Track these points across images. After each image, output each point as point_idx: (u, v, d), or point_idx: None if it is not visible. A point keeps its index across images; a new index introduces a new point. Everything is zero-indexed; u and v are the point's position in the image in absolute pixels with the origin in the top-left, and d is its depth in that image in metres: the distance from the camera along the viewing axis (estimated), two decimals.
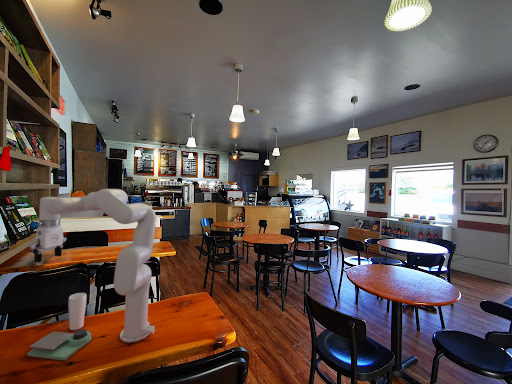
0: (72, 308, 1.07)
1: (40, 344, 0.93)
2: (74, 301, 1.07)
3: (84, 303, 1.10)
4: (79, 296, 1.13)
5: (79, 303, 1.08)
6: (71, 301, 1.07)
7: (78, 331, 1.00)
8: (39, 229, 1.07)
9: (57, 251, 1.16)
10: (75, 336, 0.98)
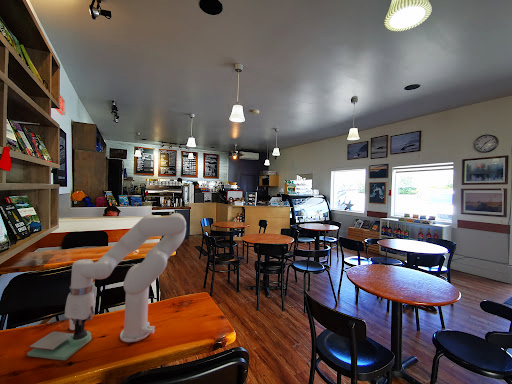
0: None
1: (40, 344, 0.93)
2: None
3: None
4: None
5: None
6: None
7: None
8: None
9: None
10: (75, 336, 0.98)
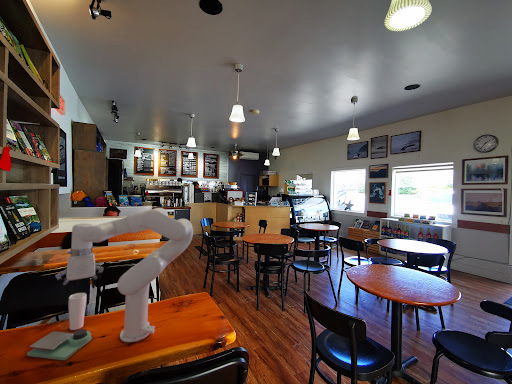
0: (72, 308, 1.07)
1: (40, 344, 0.93)
2: (74, 301, 1.07)
3: (84, 303, 1.10)
4: (79, 296, 1.13)
5: (79, 303, 1.08)
6: (71, 301, 1.07)
7: (78, 331, 1.00)
8: None
9: (92, 282, 1.08)
10: (75, 336, 0.98)
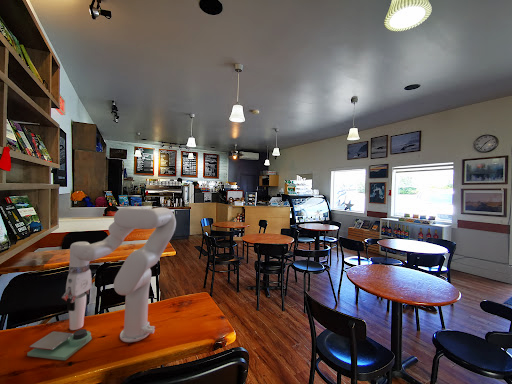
0: None
1: (40, 344, 0.93)
2: (74, 301, 1.07)
3: (84, 303, 1.10)
4: (79, 296, 1.13)
5: (79, 303, 1.08)
6: None
7: (78, 331, 1.00)
8: (70, 277, 1.05)
9: None
10: (75, 336, 0.98)
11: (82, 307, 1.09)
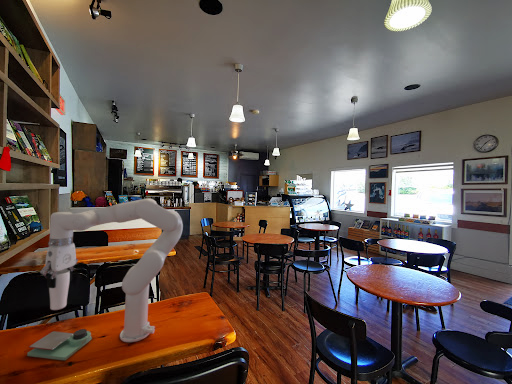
0: None
1: (40, 344, 0.93)
2: None
3: (67, 280, 0.98)
4: (62, 273, 1.01)
5: (61, 280, 0.96)
6: None
7: (78, 331, 1.00)
8: (50, 249, 0.94)
9: None
10: (75, 336, 0.98)
11: (64, 284, 0.97)
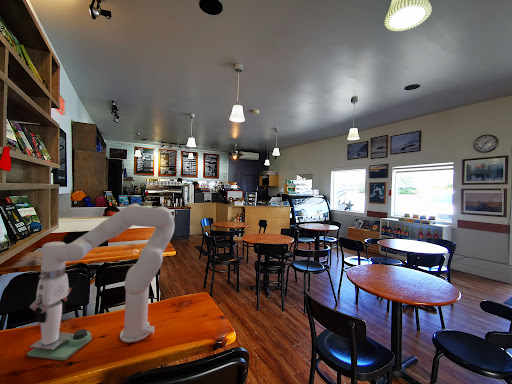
0: None
1: (40, 344, 0.93)
2: (47, 311, 0.92)
3: (59, 313, 0.95)
4: (54, 304, 0.98)
5: (52, 313, 0.93)
6: None
7: (78, 331, 1.00)
8: (41, 283, 0.90)
9: None
10: (75, 336, 0.98)
11: (56, 318, 0.94)
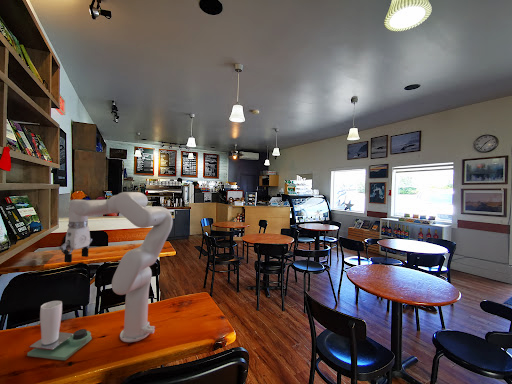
0: (44, 319, 0.92)
1: (40, 344, 0.93)
2: (47, 311, 0.92)
3: (59, 313, 0.95)
4: (54, 304, 0.98)
5: (52, 313, 0.93)
6: (43, 311, 0.92)
7: (78, 331, 1.00)
8: (69, 230, 1.11)
9: (84, 252, 1.20)
10: (75, 336, 0.98)
11: (56, 318, 0.94)
